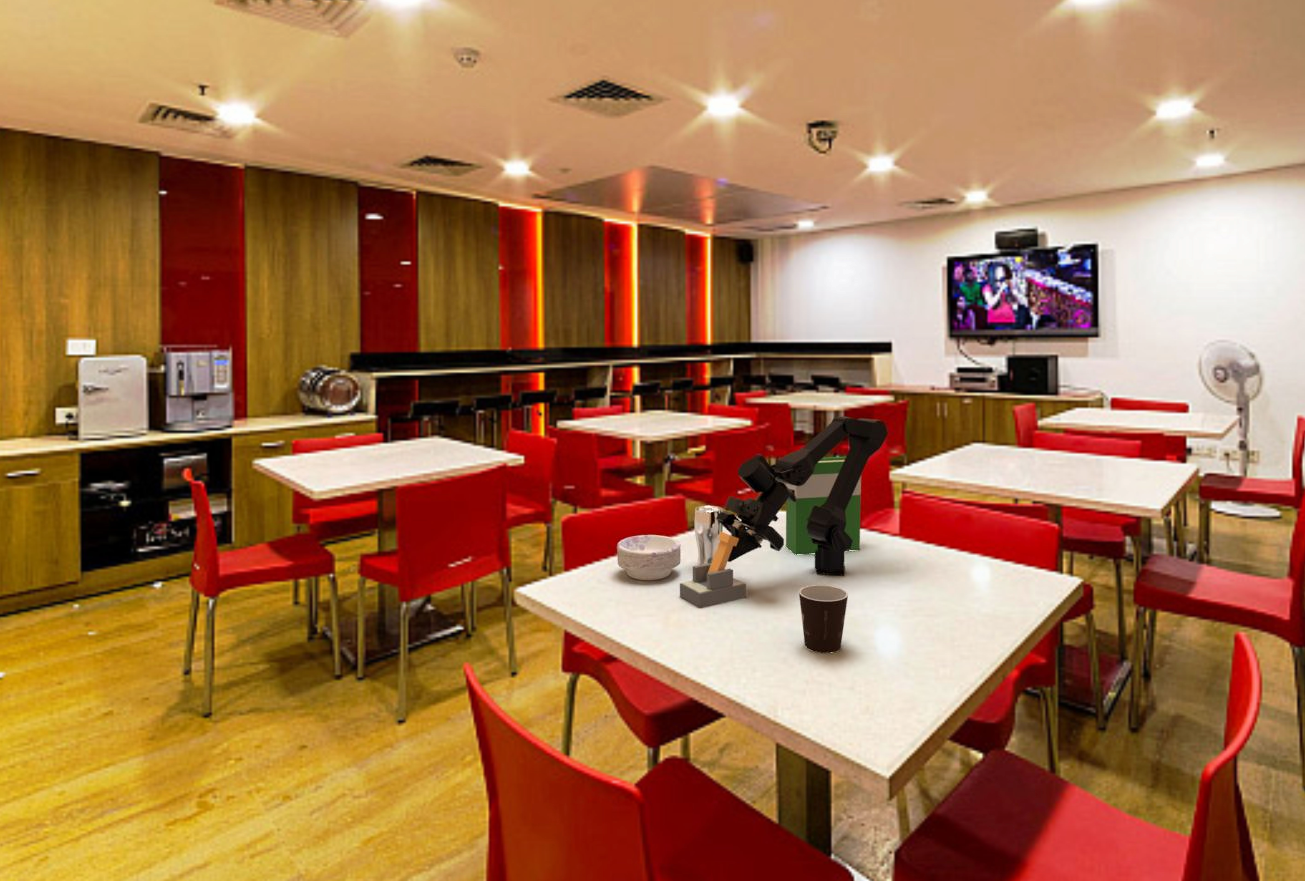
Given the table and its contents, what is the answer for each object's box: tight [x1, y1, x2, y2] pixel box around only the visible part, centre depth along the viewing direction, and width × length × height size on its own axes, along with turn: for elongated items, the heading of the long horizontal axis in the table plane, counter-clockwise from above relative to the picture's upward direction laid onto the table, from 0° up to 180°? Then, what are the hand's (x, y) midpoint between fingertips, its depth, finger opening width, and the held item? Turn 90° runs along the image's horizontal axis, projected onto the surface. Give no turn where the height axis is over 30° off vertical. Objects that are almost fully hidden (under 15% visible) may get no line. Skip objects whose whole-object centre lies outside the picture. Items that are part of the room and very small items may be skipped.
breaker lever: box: [706, 531, 739, 577], centre depth 159 cm, size 3×4×11 cm
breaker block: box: [679, 563, 747, 609], centre depth 158 cm, size 12×8×6 cm, turn 119°
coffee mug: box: [798, 584, 849, 654], centre depth 130 cm, size 12×9×10 cm
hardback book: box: [785, 456, 862, 556], centre depth 192 cm, size 18×7×24 cm, turn 99°
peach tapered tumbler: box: [694, 505, 724, 566], centre depth 178 cm, size 7×7×15 cm
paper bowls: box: [616, 534, 682, 581], centre depth 175 cm, size 15×15×8 cm
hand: (727, 560), depth 159 cm, fingers closed, pressing on breaker lever
